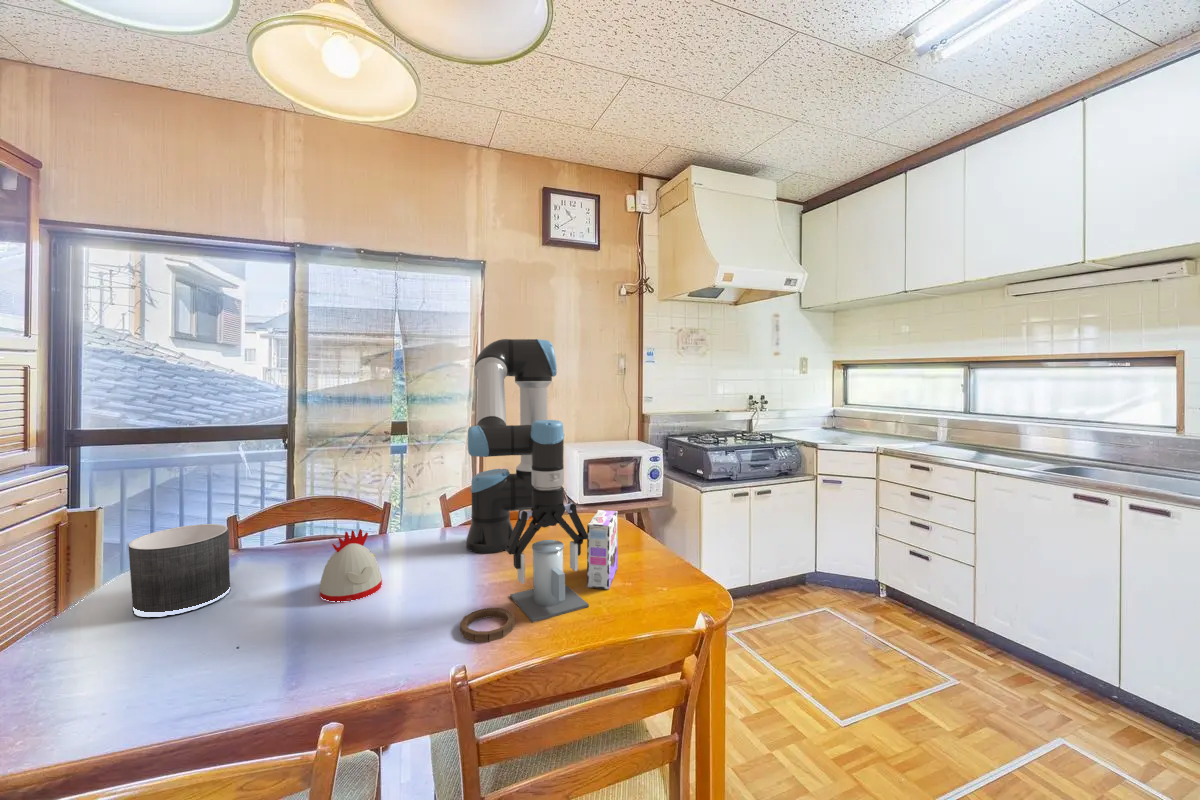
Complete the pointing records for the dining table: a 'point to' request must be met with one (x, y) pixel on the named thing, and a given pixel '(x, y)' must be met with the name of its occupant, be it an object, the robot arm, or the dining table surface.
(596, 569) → the candy box
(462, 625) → the brown segmented ring
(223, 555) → the planter
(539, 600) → the white cylindrical canister
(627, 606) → the dining table surface
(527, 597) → the mat
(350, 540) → the white chicken figure
